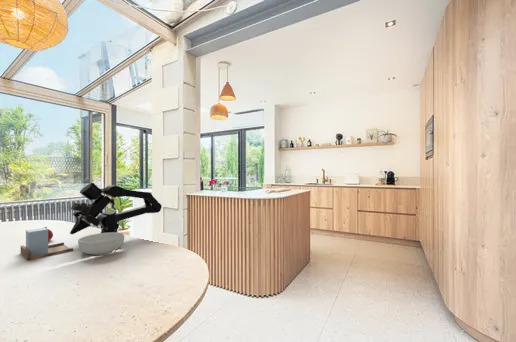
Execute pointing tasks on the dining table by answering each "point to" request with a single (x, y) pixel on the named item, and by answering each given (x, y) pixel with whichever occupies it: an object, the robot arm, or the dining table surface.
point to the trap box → (51, 251)
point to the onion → (49, 234)
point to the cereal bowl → (101, 243)
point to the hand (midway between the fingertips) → (70, 233)
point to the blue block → (37, 241)
